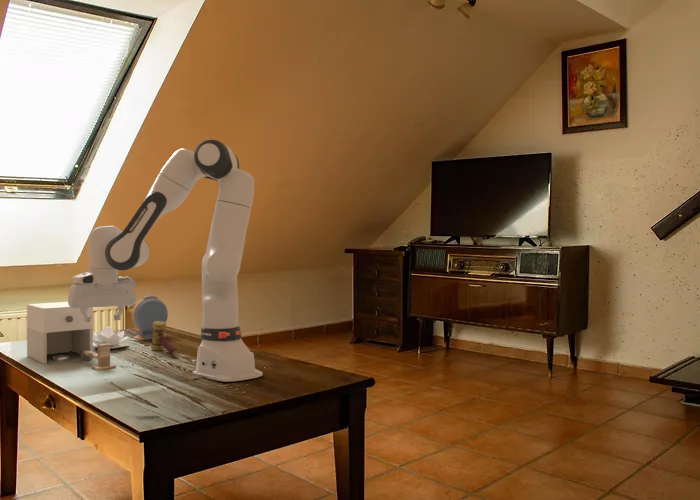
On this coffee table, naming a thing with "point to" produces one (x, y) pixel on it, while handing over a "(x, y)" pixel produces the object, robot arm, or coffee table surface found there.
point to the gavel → (161, 339)
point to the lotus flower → (109, 338)
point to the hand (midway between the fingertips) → (102, 321)
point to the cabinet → (57, 330)
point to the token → (61, 357)
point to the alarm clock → (148, 316)
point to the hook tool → (99, 357)
